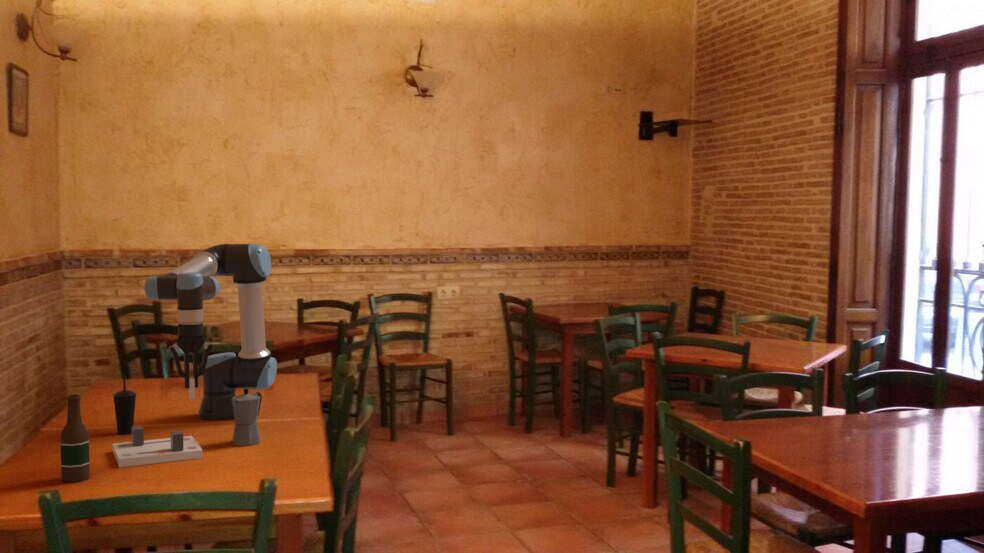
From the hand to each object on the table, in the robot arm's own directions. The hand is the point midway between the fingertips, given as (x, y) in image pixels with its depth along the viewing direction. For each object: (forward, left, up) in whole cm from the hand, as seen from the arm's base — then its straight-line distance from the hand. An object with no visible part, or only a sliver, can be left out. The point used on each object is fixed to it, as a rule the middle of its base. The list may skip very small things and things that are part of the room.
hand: (191, 398), depth 279 cm
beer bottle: (+34, +11, -18) cm, 40 cm away
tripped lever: (+5, 0, -15) cm, 16 cm away
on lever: (+15, -12, -15) cm, 24 cm away
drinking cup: (+16, -40, -18) cm, 47 cm away
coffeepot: (-19, -10, -18) cm, 28 cm away
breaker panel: (+10, -6, -18) cm, 21 cm away
